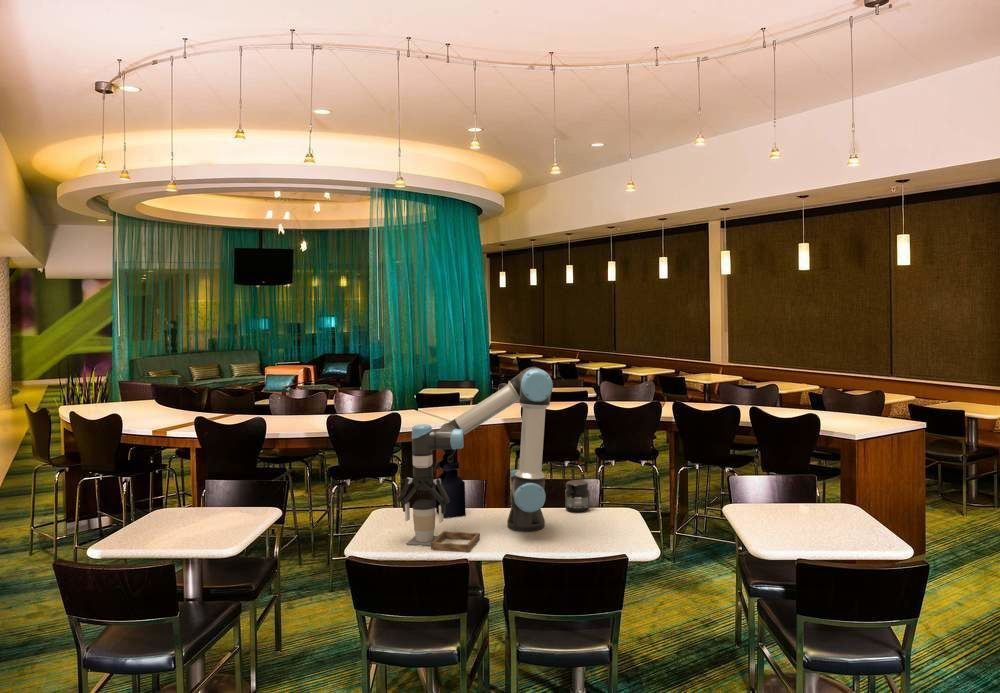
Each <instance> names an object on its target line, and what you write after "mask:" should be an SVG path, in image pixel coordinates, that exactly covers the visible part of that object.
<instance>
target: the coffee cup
mask: <svg viewBox="0 0 1000 693" xmlns="http://www.w3.org/2000/svg"><path fill="white" fill-rule="evenodd" d="M411 508H412V518H413V528H414V536H415V537H416V541H418V542H430V541H433V540H434V536H435V528H436V514H437V513H436V502H434V501H433V500H432V499H426V498H425V499H424V498H423V499H417V500H415V502H414V503H413V504H412V507H411Z"/></svg>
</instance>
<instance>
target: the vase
mask: <svg viewBox="0 0 1000 693" xmlns="http://www.w3.org/2000/svg"><path fill="white" fill-rule="evenodd" d="M456 450H457V449H455V450H454V449H442V450H440V451H441V452H442V453H444V454H443V456H442V458H441V459H439V460H438V461H437V462H436V463H435V465H434V467H433V473H436V472H437V470H439V471H440V469H442V470H443V471H442V473H441V474H440V475H439V476H437V477H436V478H435V479H439V478H441V481H442V485H443V487H444V489H445V491H446V493H447V495H448V497H449V499H450V502H449V503H448V504H446V505H445V513H444V514H443V520H444V519H445V520H446V519H451V518H461V517H466V516H467V515H466V513H467V512H466V485H465V484H466V482H465V481H464V480H463V479H462V478H461V477H460V476H459V475H458V474H457V470H459V469H460V462H458V461H457V460H455V459H454V457H453V456H454V455H455V452H456ZM435 489H436V491H437V492H438V493H439V494H440V491H439V489H438V487H437V485H436V484H435ZM440 496H441V494H440ZM441 497H442V496H441ZM435 505H436V507H435V513H436V514H437V515H438V516H439V505H440V503H439V502H438V501H437V499H436V498H435Z"/></svg>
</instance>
